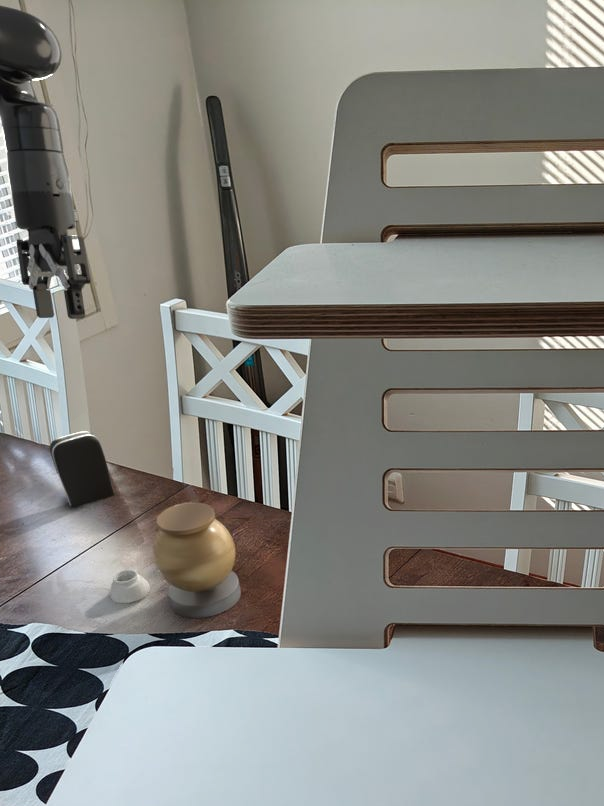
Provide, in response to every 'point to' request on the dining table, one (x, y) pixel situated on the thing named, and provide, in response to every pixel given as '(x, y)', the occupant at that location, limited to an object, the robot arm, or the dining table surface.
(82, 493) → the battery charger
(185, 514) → the lidded jar
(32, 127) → the robot arm
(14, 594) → the dining table surface
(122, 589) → the lidless jar
